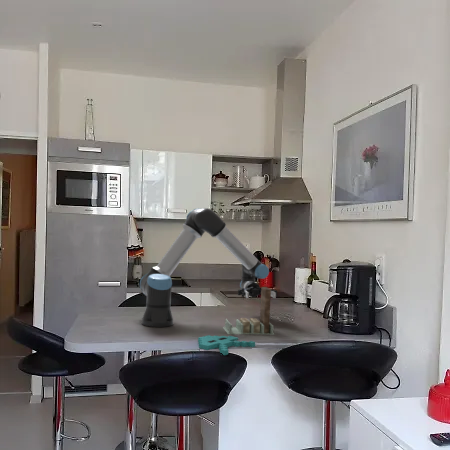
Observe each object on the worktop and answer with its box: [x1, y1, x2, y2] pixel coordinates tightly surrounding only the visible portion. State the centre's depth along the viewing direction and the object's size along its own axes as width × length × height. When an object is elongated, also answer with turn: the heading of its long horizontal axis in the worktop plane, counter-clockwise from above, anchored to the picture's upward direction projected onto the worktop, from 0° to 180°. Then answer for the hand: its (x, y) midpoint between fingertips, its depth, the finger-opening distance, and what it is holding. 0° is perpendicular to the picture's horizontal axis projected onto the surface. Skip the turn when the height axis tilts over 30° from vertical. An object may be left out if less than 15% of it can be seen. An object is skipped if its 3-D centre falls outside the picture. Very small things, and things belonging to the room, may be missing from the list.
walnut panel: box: [259, 286, 272, 333], centre depth 216 cm, size 2×8×20 cm, turn 9°
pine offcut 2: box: [249, 317, 260, 333], centre depth 215 cm, size 3×8×5 cm, turn 9°
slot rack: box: [222, 318, 276, 336], centre depth 215 cm, size 22×13×5 cm, turn 99°
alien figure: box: [197, 334, 256, 356], centre depth 191 cm, size 20×2×20 cm
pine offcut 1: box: [239, 317, 250, 333], centre depth 215 cm, size 3×8×5 cm, turn 9°
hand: (261, 295), depth 226 cm, fingers open, 13 cm apart
